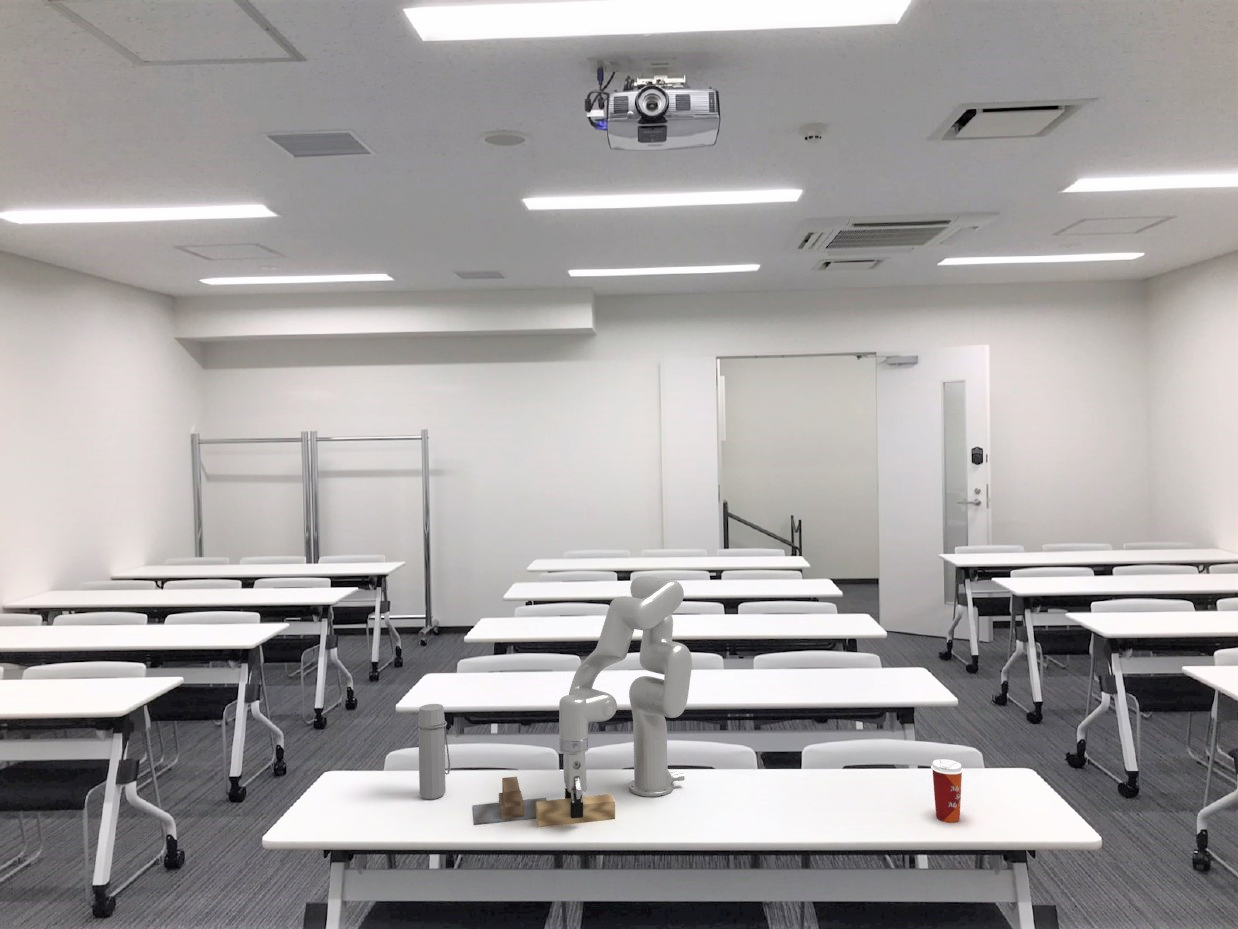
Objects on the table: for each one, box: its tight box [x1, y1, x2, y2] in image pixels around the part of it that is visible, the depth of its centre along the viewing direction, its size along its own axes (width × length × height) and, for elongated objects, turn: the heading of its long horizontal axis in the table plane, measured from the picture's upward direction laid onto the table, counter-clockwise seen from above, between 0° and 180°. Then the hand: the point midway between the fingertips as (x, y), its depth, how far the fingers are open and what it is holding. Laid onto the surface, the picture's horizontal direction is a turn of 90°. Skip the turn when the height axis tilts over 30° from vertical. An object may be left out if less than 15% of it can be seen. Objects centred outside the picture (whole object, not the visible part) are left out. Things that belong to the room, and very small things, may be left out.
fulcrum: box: [472, 776, 548, 826], centre depth 225 cm, size 20×12×7 cm, turn 102°
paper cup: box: [930, 758, 964, 824], centre depth 216 cm, size 8×8×14 cm
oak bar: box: [535, 793, 616, 829], centre depth 219 cm, size 20×5×5 cm, turn 102°
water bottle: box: [417, 703, 451, 800], centre depth 237 cm, size 9×8×25 cm
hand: (573, 810), depth 219 cm, fingers open, 9 cm apart
